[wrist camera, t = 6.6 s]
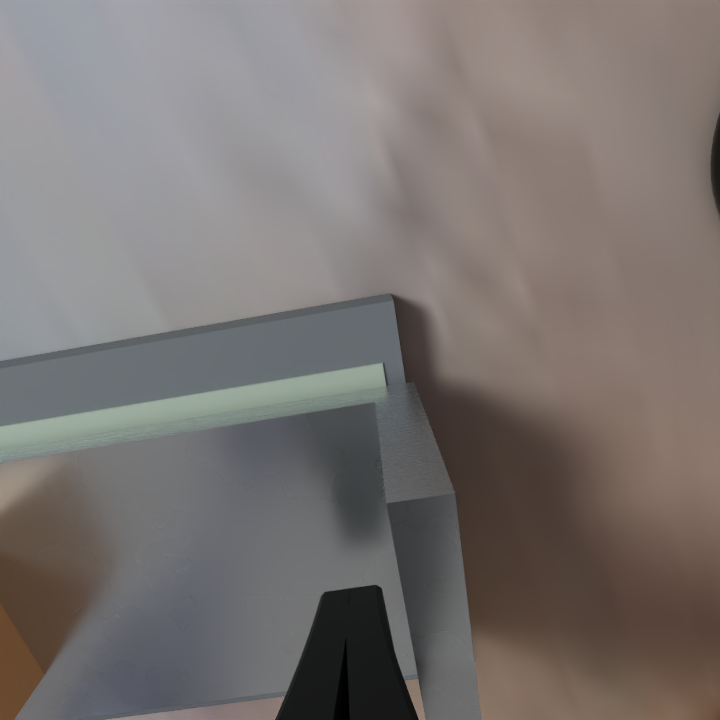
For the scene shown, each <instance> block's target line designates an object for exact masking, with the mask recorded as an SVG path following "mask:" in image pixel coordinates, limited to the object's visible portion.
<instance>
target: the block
mask: <svg viewBox="0 0 720 720" xmlns="http://www.w3.org/2000/svg"><path fill="white" fill-rule="evenodd" d="M44 676H45V675H44V673H43V671H42V670H41V668H40V667H39V665H38V663H37V662H36V660H35V658H34V657H33V655H32V654H31V652H30V650H29V649H28V647H27V645H26V644H25V642H24V641H23V639H22V637H21V636H20V634H19V632H18V631H17V629H16V628H15V626H14V624H13V623H12V621H11V619H10V618H9V616H8V614H7V613H6V611H5V610H4V608H3V606H2V605H1V603H0V720H14V719H15V718H16V716H17V715H18V713H19V712H20V710H21V709H22V707H23V706H24V705H25V703H26V702H27V700H28V699H29V697H30V696H31V694H32V693H33V692H34V690H35V689H36V687H37V686H38V684H39V683H40V681H41V680H42V678H43V677H44Z"/></svg>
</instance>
